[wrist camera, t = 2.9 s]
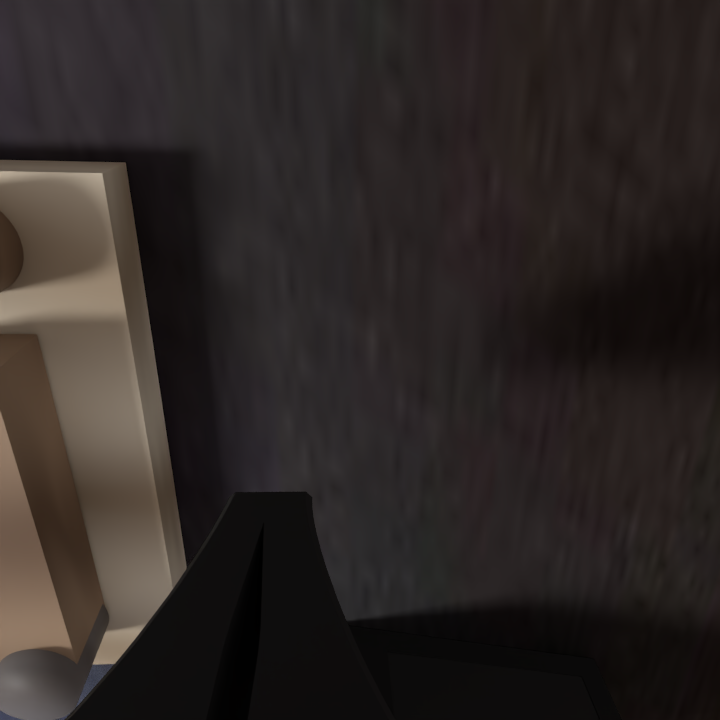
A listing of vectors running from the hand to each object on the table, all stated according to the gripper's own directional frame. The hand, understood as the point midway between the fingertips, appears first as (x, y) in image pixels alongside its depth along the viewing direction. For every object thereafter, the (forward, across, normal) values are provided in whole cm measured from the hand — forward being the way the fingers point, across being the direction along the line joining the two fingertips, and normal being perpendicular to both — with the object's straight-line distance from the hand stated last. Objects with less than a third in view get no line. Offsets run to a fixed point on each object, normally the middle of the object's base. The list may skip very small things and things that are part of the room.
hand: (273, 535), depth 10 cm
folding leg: (+4, +7, +3) cm, 8 cm away
